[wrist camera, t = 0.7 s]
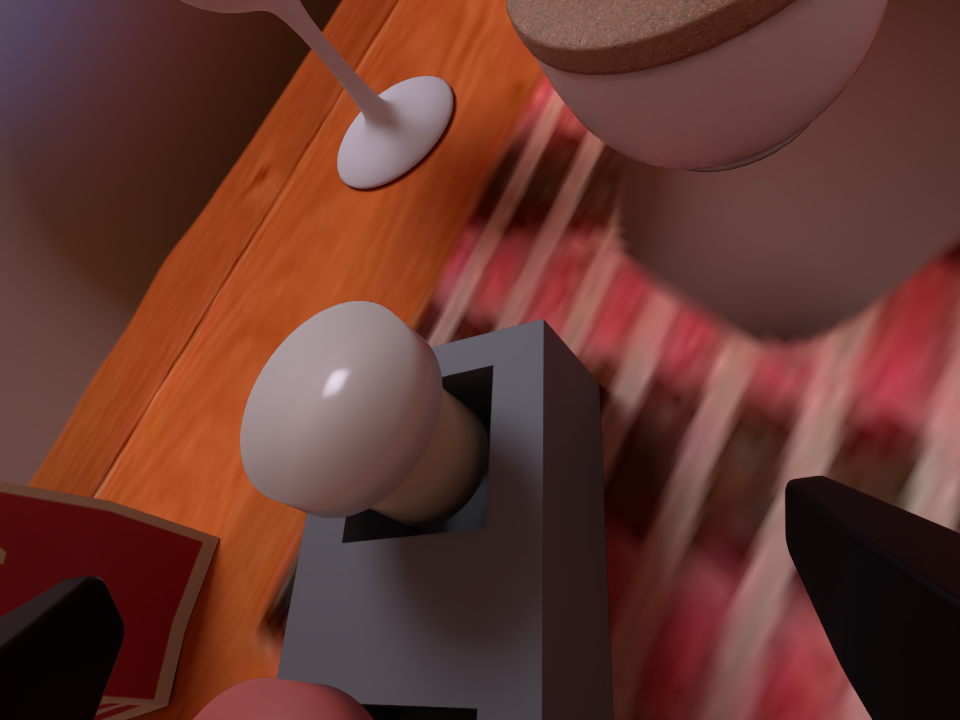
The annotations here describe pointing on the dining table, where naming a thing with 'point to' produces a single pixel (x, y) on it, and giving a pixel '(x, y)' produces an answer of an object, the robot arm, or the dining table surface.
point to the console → (476, 562)
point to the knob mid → (283, 702)
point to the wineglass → (367, 104)
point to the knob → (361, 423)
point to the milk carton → (109, 579)
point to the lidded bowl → (698, 70)
